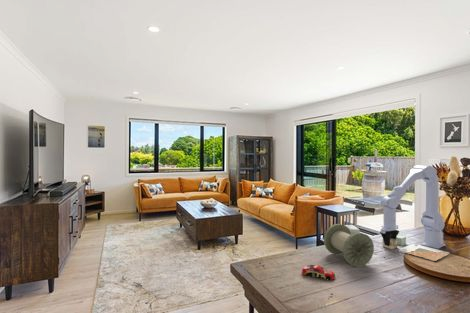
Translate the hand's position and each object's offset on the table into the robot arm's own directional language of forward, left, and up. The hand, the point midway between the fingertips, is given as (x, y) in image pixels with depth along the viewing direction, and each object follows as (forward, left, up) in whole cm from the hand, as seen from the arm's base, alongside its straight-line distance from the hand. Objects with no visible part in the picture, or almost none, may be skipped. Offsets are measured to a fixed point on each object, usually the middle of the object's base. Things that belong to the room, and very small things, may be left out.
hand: (389, 244), depth 143 cm
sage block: (-10, 0, -2) cm, 10 cm away
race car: (+58, 0, -2) cm, 58 cm away
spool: (+33, -3, -2) cm, 33 cm away
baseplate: (-5, +14, -2) cm, 15 cm away
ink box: (+19, -10, -2) cm, 22 cm away
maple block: (0, 0, -1) cm, 1 cm away
